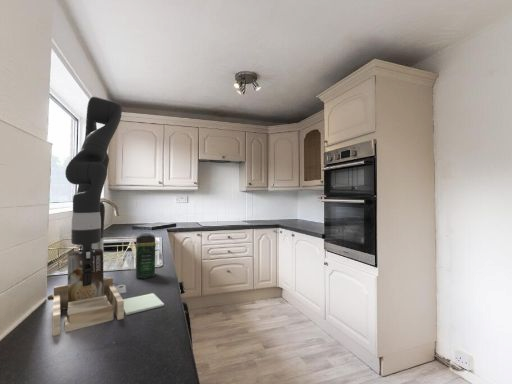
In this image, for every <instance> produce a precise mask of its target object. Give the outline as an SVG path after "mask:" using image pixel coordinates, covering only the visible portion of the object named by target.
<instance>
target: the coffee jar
mask: <svg viewBox="0 0 512 384" xmlns="http://www.w3.org/2000/svg"><path fill="white" fill-rule="evenodd" d="M135 240H136V241H135V277H136V278H137V279H148V278H153V277H154V276H155V274H156V273H155V272H156V236H155V235H154V234H152V233H150V232H143V233H141V234H139V235H137V236H136V238H135Z"/></svg>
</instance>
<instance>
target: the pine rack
mask: <svg viewBox="0 0 512 384" xmlns="http://www.w3.org/2000/svg"><path fill="white" fill-rule="evenodd" d="M115 286H116V285H114V277H113V276H110V277H105V278H104V296H106V297H107V301H109V302H110V303H111V304H112V305H113V314H114V316H115V318H116V319H117V320H118V321H119V320H123V319H124V318H125V316H124V315H125V312H124V300H123V297H122V296H121V293H118V291H117V290H116V288H115ZM53 295H54V299H53V303H52V305H53V307H52V337H55V336H60V335H61V311H62V310H66V309H68V283H67V284H62V285H61V284H60V285H56V286H53Z"/></svg>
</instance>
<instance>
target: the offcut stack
mask: <svg viewBox="0 0 512 384" xmlns="http://www.w3.org/2000/svg"><path fill="white" fill-rule="evenodd" d="M113 320H114V311H113V305H112V304H111V303H110V302H109V301H108V300H107V297H106V296H101V297H95V298H90V299H84V300H79V301H73V302H68V308H67V310H66V316H65V317H64V323H63V324H64V331H65V332H64V333H67V332H71V331H74V330H79V329H84V328H86V327H91V326H95V325H98V324H99V325H100V324H103V323H105V322H110V321H113Z"/></svg>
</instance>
